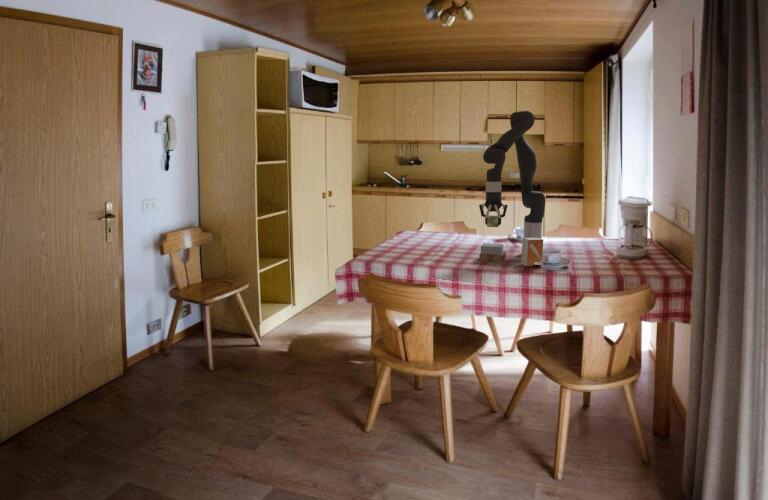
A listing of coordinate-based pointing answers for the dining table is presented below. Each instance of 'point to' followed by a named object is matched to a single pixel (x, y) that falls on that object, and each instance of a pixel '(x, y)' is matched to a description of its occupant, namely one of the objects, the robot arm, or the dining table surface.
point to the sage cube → (492, 221)
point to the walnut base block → (493, 257)
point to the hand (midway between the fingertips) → (493, 225)
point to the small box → (531, 251)
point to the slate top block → (491, 249)
